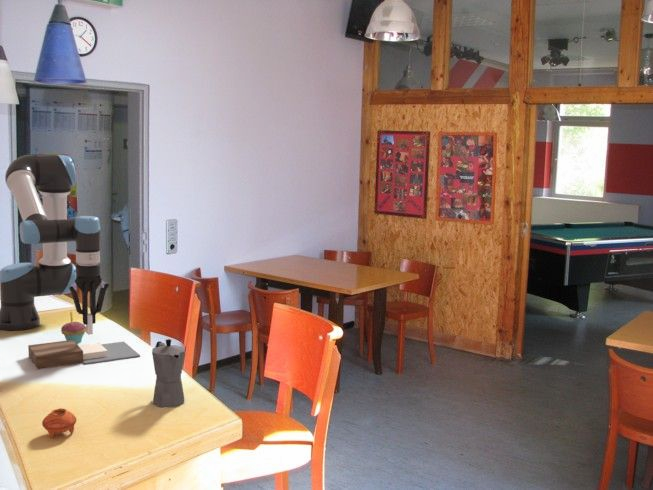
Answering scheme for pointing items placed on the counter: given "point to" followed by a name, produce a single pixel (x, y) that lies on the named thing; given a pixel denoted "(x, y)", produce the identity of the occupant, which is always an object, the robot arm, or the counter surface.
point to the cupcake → (73, 330)
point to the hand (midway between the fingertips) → (89, 333)
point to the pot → (59, 422)
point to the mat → (114, 353)
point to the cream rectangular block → (93, 351)
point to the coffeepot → (168, 374)
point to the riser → (55, 354)
